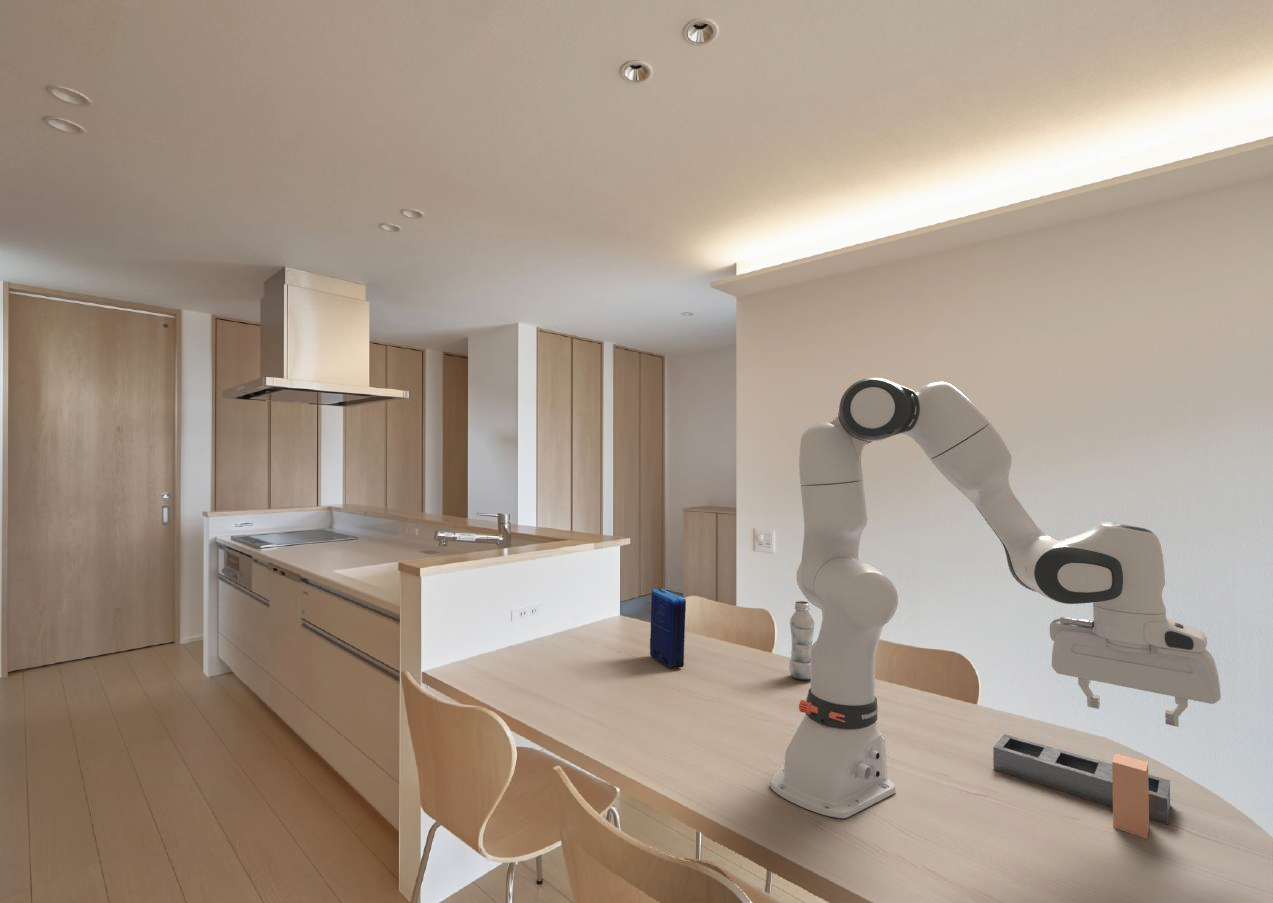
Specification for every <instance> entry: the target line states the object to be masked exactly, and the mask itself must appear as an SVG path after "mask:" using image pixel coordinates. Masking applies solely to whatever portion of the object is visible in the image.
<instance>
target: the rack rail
mask: <svg viewBox="0 0 1273 903" xmlns="http://www.w3.org/2000/svg"><path fill="white" fill-rule="evenodd" d="M992 748H993V749H992V750H993V752H992V753H993V758H992V759H993V765H992V766H993V770H995V771H998V772H1002V773H1005V774H1007V775H1011V776H1014V777H1017V778H1020V779H1024V780H1026V781H1029V782H1031V783H1035V784H1039V785H1041V786H1042V785H1043V786H1045V787H1048V788H1051V789H1055V790H1057V791H1061V792H1063V793H1066V794H1071V795H1073V796H1076V797H1079V798H1083V799H1085V800H1089V801H1092V802H1095V803H1098V804H1101V805H1104V806H1107V807H1110V808H1113V777H1112V763H1108V762H1105V761H1102V760H1099V759H1095V758H1091V757H1087V756H1085V755H1084V756H1083V755H1081V754H1077V753H1073V752H1070V751H1067V750H1062V749H1059V748H1055V747H1052V746H1048V745H1044V744H1041V743H1038V742H1034V741H1031V740H1027V739H1023V738H1019V737H1016V736H1012V735H1010V734H1009V735H1008V734H1005V733H1004V734H1003V735H1002V736H1001V738H1000V739H999V740H998V741H997V742H996V743H995V745H994V746H993V747H992ZM1148 781H1149V820H1151V821H1155V822H1157V823H1160V824H1163V825H1166V826H1168V824H1169V818H1170V817H1169V816H1170V811H1171V780H1169V779H1166V778H1163V777H1159V776H1155V775H1152V774H1149V773H1148Z"/></svg>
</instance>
